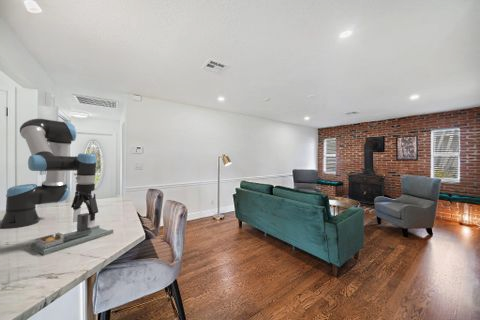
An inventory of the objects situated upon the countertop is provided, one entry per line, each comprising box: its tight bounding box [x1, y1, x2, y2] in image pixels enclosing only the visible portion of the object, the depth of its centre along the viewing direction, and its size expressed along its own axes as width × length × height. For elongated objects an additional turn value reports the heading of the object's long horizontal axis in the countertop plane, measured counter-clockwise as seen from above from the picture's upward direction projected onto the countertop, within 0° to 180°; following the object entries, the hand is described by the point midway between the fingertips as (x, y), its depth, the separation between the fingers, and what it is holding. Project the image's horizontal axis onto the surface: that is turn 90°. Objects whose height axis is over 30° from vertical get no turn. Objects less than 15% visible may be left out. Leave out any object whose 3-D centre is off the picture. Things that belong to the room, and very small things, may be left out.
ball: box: [45, 236, 56, 242], centre depth 85 cm, size 4×4×4 cm
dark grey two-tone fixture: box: [54, 212, 91, 243], centre depth 93 cm, size 5×13×11 cm, turn 155°
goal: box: [34, 234, 63, 251], centre depth 85 cm, size 10×6×4 cm, turn 65°
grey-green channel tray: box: [28, 224, 114, 256], centre depth 94 cm, size 14×28×2 cm, turn 155°
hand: (83, 224), depth 97 cm, fingers open, 13 cm apart
